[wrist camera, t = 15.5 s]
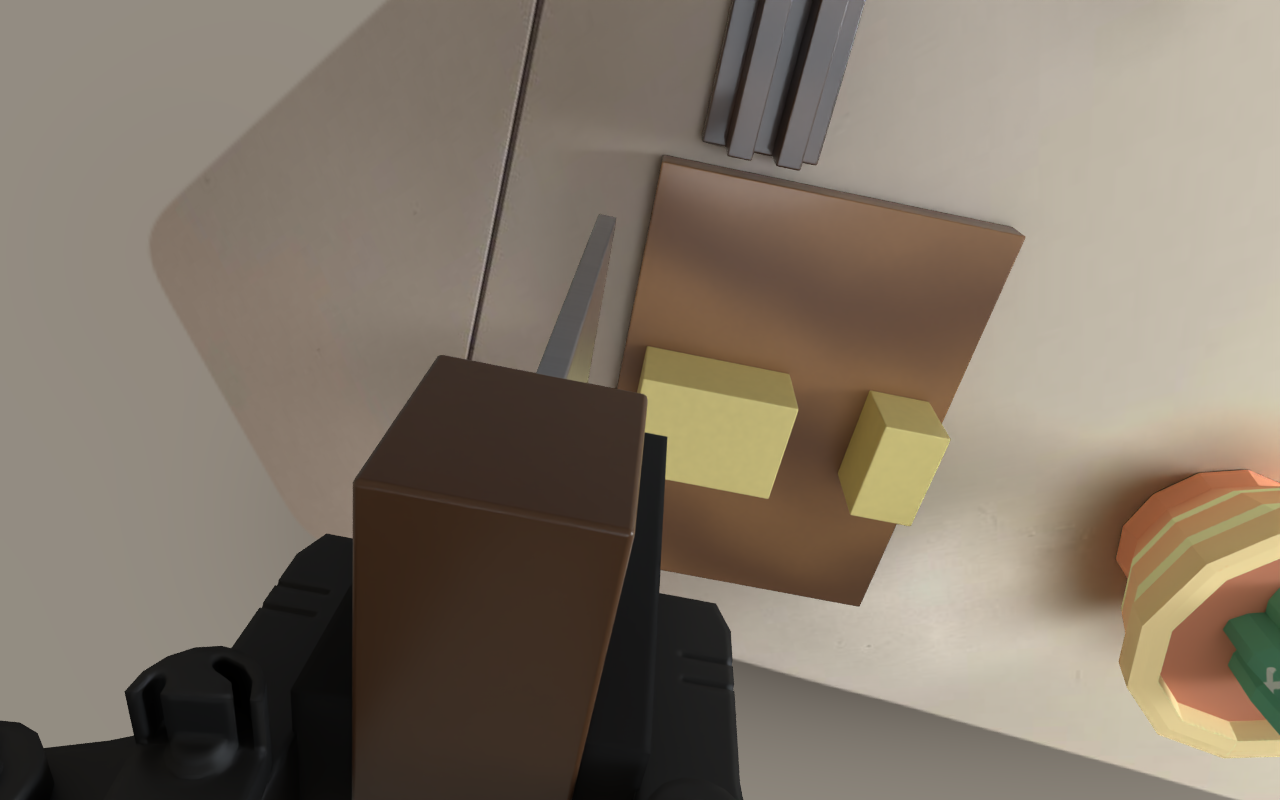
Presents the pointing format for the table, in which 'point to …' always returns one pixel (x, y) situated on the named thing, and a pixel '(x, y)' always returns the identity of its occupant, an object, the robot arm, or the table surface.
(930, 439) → the butter pat
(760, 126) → the knife holder
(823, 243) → the board
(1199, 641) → the potted cactus
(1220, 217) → the table surface
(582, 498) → the cleaver
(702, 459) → the butter
